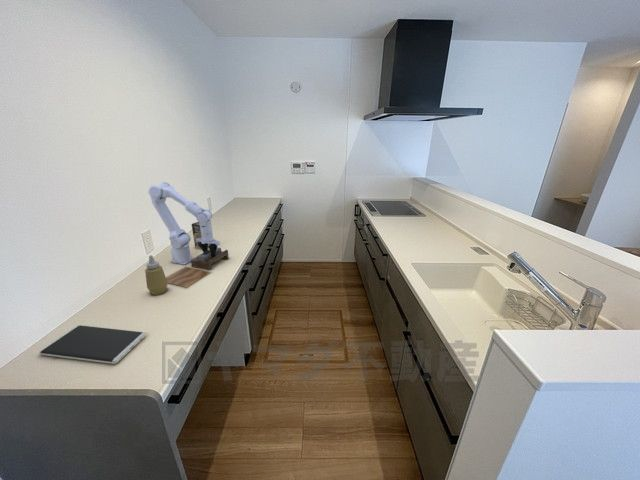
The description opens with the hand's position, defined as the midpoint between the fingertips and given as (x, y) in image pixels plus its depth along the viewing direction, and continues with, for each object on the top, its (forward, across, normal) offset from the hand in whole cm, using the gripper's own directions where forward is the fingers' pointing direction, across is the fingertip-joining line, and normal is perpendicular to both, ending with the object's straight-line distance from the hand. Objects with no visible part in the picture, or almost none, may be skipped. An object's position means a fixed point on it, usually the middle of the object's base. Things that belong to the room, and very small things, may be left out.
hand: (209, 255), depth 147 cm
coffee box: (+5, -19, +16) cm, 25 cm away
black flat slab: (+5, +8, -65) cm, 66 cm away
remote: (0, 0, 0) cm, 0 cm away
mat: (+4, 0, -18) cm, 19 cm away
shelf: (+4, 0, 0) cm, 4 cm away
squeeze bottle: (+5, -1, -33) cm, 33 cm away
